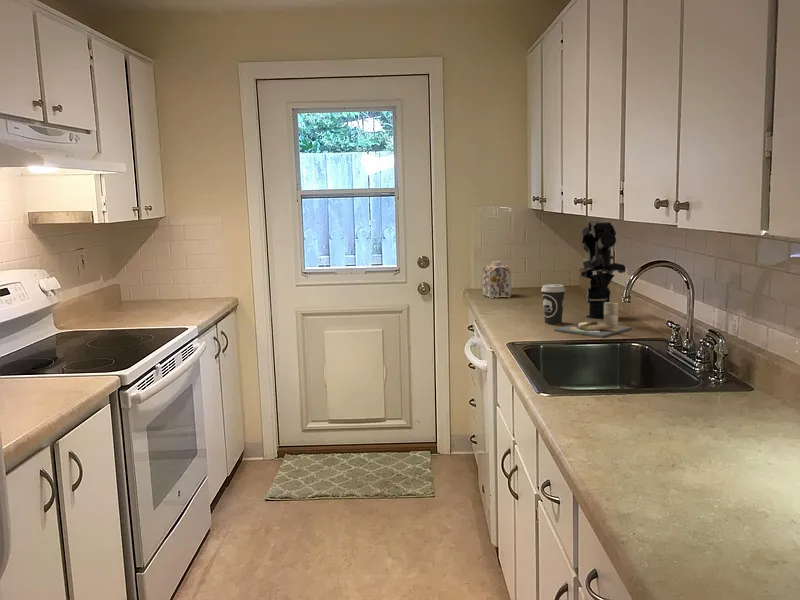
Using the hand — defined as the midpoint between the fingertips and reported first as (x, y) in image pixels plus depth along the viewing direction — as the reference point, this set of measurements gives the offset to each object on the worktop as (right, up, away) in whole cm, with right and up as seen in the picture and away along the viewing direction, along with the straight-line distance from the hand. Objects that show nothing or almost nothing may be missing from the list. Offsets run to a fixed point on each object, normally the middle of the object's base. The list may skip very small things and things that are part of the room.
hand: (602, 293), depth 265 cm
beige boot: (-6, -13, -12) cm, 19 cm away
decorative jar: (-28, -1, +87) cm, 92 cm away
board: (-6, -14, -8) cm, 17 cm away
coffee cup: (-17, -12, +9) cm, 23 cm away
